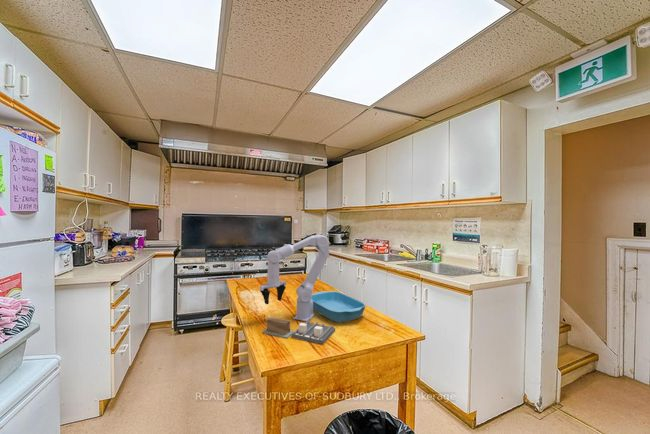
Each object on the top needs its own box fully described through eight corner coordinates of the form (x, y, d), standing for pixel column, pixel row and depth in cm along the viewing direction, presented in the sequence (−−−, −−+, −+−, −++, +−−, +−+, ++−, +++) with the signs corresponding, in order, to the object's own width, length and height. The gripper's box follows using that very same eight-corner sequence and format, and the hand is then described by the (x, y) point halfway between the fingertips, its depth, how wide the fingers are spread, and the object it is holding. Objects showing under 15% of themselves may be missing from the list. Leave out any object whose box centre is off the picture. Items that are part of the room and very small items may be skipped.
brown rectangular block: (271, 327, 123) (271, 317, 123) (290, 331, 119) (290, 320, 119) (267, 330, 120) (267, 319, 120) (286, 334, 116) (286, 323, 116)
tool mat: (270, 327, 125) (270, 325, 125) (294, 332, 120) (294, 331, 120) (262, 332, 119) (262, 331, 119) (287, 338, 114) (287, 337, 114)
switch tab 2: (316, 333, 115) (316, 325, 115) (322, 334, 114) (322, 327, 114) (313, 336, 113) (313, 328, 113) (320, 337, 112) (320, 329, 112)
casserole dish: (302, 305, 155) (302, 293, 155) (333, 299, 167) (334, 288, 167) (337, 329, 124) (337, 314, 124) (373, 320, 136) (373, 306, 136)
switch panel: (306, 325, 128) (306, 319, 128) (335, 330, 122) (335, 325, 122) (291, 337, 115) (291, 331, 115) (322, 344, 109) (322, 338, 109)
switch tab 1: (301, 330, 119) (301, 322, 119) (307, 331, 117) (307, 323, 117) (298, 332, 116) (298, 324, 116) (304, 333, 115) (304, 326, 115)
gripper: (265, 278, 124) (265, 307, 124) (289, 274, 135) (289, 300, 135) (257, 276, 129) (257, 303, 129) (281, 271, 140) (281, 297, 140)
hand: (273, 302), depth 132 cm, fingers open, 7 cm apart
